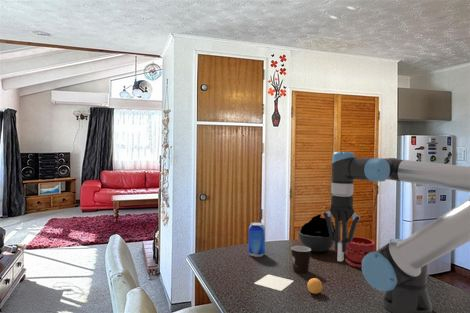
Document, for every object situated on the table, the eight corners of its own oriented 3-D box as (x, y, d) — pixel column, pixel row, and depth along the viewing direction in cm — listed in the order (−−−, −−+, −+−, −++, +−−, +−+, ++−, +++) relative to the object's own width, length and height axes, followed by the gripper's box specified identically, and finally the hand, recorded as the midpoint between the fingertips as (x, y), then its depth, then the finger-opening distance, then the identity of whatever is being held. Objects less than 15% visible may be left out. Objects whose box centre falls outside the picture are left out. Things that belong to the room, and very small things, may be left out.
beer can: (246, 256, 166) (247, 224, 166) (250, 251, 174) (251, 221, 174) (262, 258, 164) (263, 226, 163) (266, 253, 172) (266, 222, 171)
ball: (324, 292, 124) (324, 278, 124) (319, 297, 120) (319, 282, 120) (310, 288, 127) (310, 274, 127) (305, 293, 123) (305, 279, 123)
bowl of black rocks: (322, 259, 163) (323, 221, 162) (290, 250, 177) (291, 215, 177) (343, 251, 176) (344, 216, 176) (312, 243, 191) (312, 211, 191)
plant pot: (346, 268, 151) (346, 242, 151) (343, 259, 164) (344, 235, 164) (376, 271, 148) (377, 244, 148) (371, 261, 161) (372, 237, 160)
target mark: (294, 281, 135) (294, 280, 135) (281, 291, 125) (281, 290, 125) (268, 274, 141) (268, 274, 141) (253, 283, 131) (253, 283, 131)
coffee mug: (310, 275, 141) (311, 252, 141) (290, 273, 143) (290, 250, 143) (310, 266, 153) (310, 244, 153) (291, 264, 154) (291, 243, 154)
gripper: (363, 195, 117) (361, 261, 118) (327, 192, 124) (326, 254, 125) (358, 197, 111) (356, 267, 111) (320, 194, 118) (319, 259, 119)
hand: (340, 260), depth 118 cm, fingers closed
